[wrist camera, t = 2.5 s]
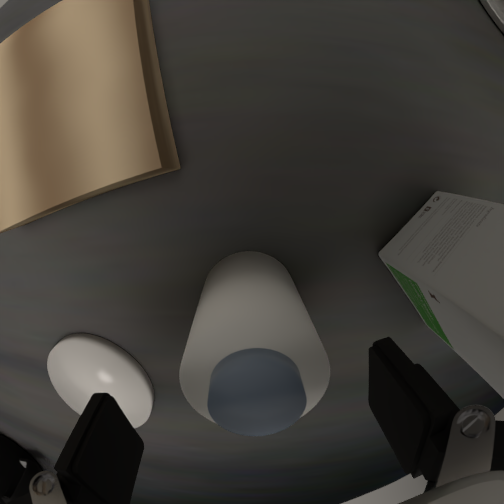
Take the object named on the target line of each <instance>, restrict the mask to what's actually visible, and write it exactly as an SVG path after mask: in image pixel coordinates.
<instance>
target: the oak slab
mask: <svg viewBox="0 0 504 504" xmlns="http://www.w3.org/2000/svg"><path fill="white" fill-rule="evenodd" d="M178 169H181V167H180V163H179V159H178V154H177V150H176V146H175V141H174V137H173V132H172V127H171V123H170V118H169V113H168V108H167V103H166V98H165V93H164V88H163V83H162V77H161V72H160V67H159V61H158V55H157V49H156V44H155V37H154V31H153V25H152V18H151V11H150V4H149V0H63V1H61V2H59V3H57V4H56V5H54V6H52V7H51V8H49V9H48V10H46V11H44V12H43V13H41V14H40V15H38V16H37V17H35V18H34V19H32V20H31V21H29V22H28V23H27V24H25V25H24V26H22V27H21V28H20V29H18V30H17V31H16V32H14V33H13V34H12V35H11V36H9V37H8V38H7V39H5V40H4V41H3V42H2V43H1V44H0V233H3V232H6V231H8V230H11V229H14V228H17V227H20V226H23V225H26V224H28V223H30V222H33V221H35V220H37V219H39V218H42V217H44V216H46V215H49V214H51V213H54V212H56V211H58V210H61V209H63V208H66V207H68V206H71V205H73V204H76V203H78V202H81V201H84V200H86V199H89V198H92V197H94V196H97V195H100V194H103V193H106V192H108V191H111V190H114V189H117V188H120V187H123V186H126V185H129V184H132V183H135V182H138V181H141V180H145V179H148V178H151V177H154V176H158V175H161V174H164V173H168V172H171V171H175V170H178Z"/></svg>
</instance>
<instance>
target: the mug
mask: <svg viewBox="0 0 504 504" xmlns="http://www.w3.org/2000/svg"><path fill="white" fill-rule="evenodd" d="M41 471H42V470H41V468H40V467H39V465H38V464H37V463H36V462H35V460H34V459H33V458H32V457H31V456H30V455H28V454H27V453H26V452H25V451H24V450H23V449H22V448H20V447H19V446H18V445H16V444H15V443H14V442H12V441H11V440H9V439H8V438H6V437H4V436H1V435H0V504H6V503H7V502H10V501H12V500H14V499H17V498H19V497H21V496H23V495H25V494H28V493H30V489H29V485H30V481H31V480H32V478H33V477H34V476H35V475H36V474H37V473H39V472H41Z"/></svg>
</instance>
